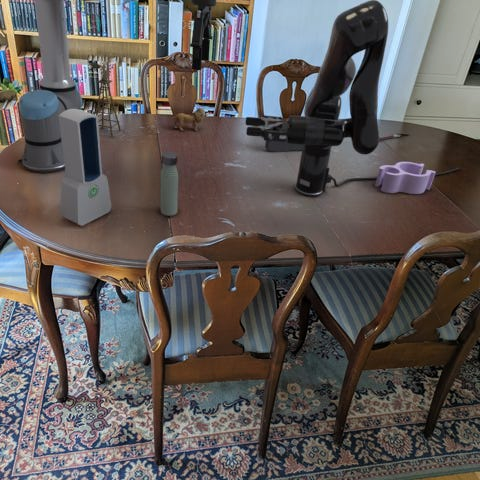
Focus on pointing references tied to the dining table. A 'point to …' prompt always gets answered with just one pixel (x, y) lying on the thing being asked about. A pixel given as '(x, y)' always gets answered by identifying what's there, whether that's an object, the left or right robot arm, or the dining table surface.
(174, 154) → the cap
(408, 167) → the clip
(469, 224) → the dining table surface
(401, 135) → the sword
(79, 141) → the electronic device
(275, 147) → the handheld gaming console
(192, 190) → the dining table surface
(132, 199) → the dining table surface
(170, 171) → the bottle
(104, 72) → the miniature windmill
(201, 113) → the lion figurine
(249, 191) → the dining table surface
